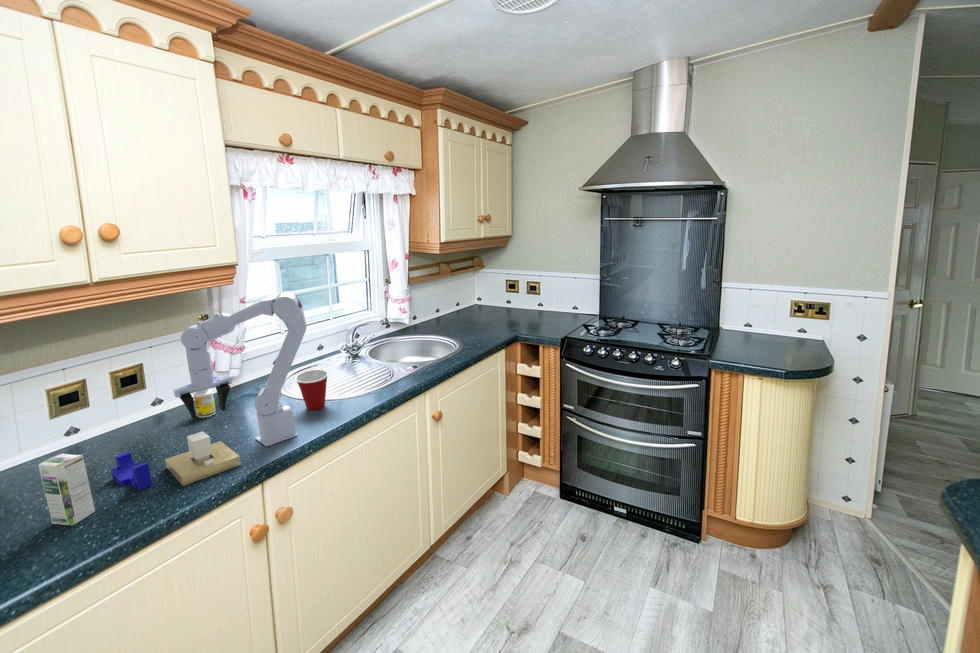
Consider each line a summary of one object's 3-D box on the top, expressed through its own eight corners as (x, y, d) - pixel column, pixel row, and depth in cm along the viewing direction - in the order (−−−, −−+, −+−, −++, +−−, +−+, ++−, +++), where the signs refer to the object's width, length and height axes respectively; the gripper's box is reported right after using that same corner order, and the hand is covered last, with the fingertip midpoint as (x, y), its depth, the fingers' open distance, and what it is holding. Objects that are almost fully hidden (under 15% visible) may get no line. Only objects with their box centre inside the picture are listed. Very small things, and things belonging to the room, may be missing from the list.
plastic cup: (293, 414, 170) (289, 380, 168) (306, 402, 181) (302, 369, 178) (325, 413, 170) (321, 379, 167) (336, 401, 180) (332, 369, 178)
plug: (207, 458, 141) (202, 431, 139) (214, 464, 137) (209, 436, 135) (191, 463, 138) (186, 436, 136) (197, 469, 134) (192, 441, 133)
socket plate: (221, 449, 147) (220, 438, 146) (241, 464, 138) (239, 453, 137) (166, 467, 137) (164, 456, 137) (183, 485, 128) (180, 473, 127)
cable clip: (113, 479, 132) (108, 458, 131) (132, 472, 136) (128, 451, 135) (132, 493, 126) (127, 471, 124) (152, 485, 129) (148, 463, 128)
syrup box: (51, 524, 114) (35, 465, 110) (76, 509, 119) (62, 452, 116) (72, 526, 113) (57, 466, 109) (97, 511, 118) (83, 453, 115)
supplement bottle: (196, 415, 173) (190, 386, 170) (214, 410, 176) (209, 382, 174) (199, 419, 169) (193, 390, 166) (217, 415, 172) (212, 386, 170)
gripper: (222, 359, 151) (229, 402, 154) (167, 371, 141) (175, 418, 144) (232, 363, 146) (239, 408, 149) (174, 377, 136) (183, 424, 139)
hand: (208, 413), depth 146 cm, fingers open, 7 cm apart
